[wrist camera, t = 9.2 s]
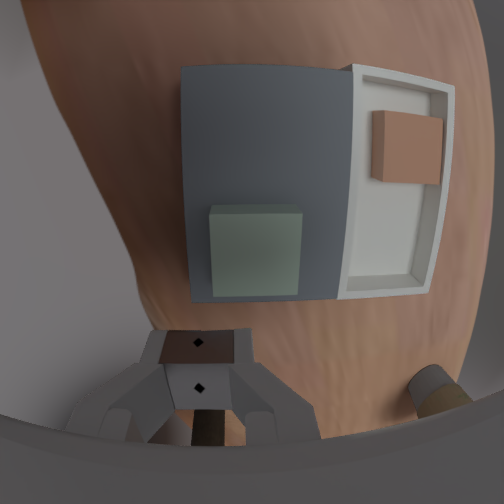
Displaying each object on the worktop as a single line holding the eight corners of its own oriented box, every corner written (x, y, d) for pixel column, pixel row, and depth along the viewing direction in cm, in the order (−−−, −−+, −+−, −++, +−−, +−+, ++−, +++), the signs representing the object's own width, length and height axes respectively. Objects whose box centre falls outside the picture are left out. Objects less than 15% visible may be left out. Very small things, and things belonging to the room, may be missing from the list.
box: (338, 69, 24) (352, 63, 20) (433, 87, 24) (454, 86, 21) (326, 281, 31) (336, 299, 28) (412, 277, 32) (428, 293, 29)
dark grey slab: (190, 76, 24) (180, 66, 19) (333, 79, 24) (353, 71, 19) (197, 275, 30) (191, 302, 26) (322, 272, 31) (337, 298, 26)
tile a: (442, 118, 23) (428, 117, 25) (384, 110, 22) (372, 110, 25) (439, 184, 25) (425, 179, 27) (382, 182, 25) (370, 176, 27)
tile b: (211, 204, 23) (209, 214, 20) (295, 204, 23) (302, 213, 21) (215, 280, 25) (213, 296, 23) (291, 279, 25) (297, 294, 23)
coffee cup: (462, 355, 38) (513, 426, 24) (430, 401, 41) (469, 471, 27) (417, 353, 36) (470, 438, 22) (385, 402, 40) (421, 485, 26)
